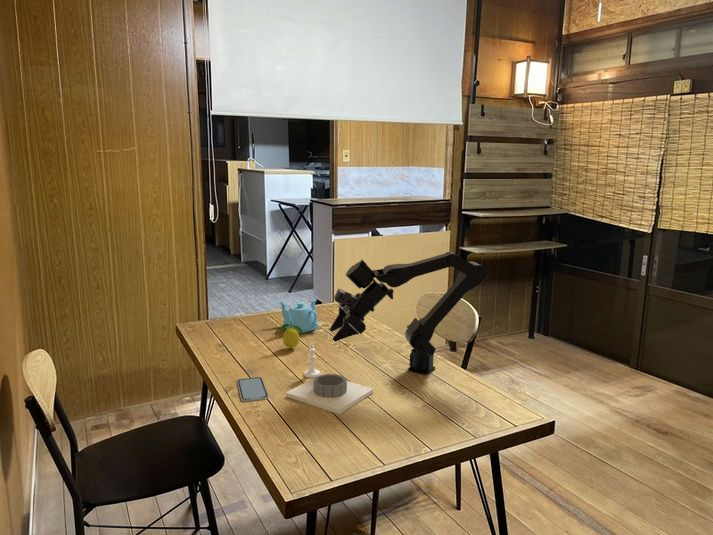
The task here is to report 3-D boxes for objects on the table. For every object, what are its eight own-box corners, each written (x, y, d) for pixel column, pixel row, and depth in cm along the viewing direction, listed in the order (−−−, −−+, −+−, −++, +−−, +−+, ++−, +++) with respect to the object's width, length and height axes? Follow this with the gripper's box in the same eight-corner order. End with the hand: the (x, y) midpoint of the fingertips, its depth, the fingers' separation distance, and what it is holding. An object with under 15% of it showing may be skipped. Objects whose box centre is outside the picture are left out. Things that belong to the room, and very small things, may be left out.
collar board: (373, 392, 148) (373, 378, 148) (339, 414, 136) (339, 399, 135) (322, 377, 158) (322, 364, 158) (286, 396, 146) (286, 382, 145)
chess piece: (311, 370, 164) (311, 339, 162) (323, 374, 161) (323, 342, 159) (300, 374, 160) (300, 343, 158) (312, 379, 157) (312, 347, 155)
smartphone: (261, 376, 158) (269, 397, 144) (261, 379, 158) (269, 399, 144) (236, 379, 156) (241, 400, 142) (236, 382, 156) (241, 403, 142)
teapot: (321, 334, 199) (322, 307, 197) (281, 336, 196) (281, 309, 194) (316, 322, 213) (316, 297, 211) (278, 324, 210) (278, 299, 208)
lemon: (278, 351, 180) (278, 322, 178) (284, 345, 186) (284, 317, 184) (297, 352, 179) (296, 324, 177) (303, 347, 184) (302, 319, 182)
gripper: (346, 273, 166) (311, 308, 166) (354, 287, 147) (314, 327, 148) (371, 297, 168) (336, 332, 169) (382, 314, 150) (342, 353, 151)
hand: (332, 335), depth 159 cm, fingers open, 9 cm apart
